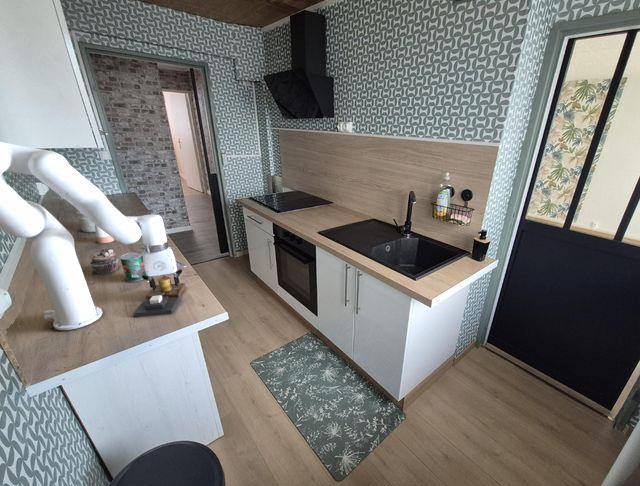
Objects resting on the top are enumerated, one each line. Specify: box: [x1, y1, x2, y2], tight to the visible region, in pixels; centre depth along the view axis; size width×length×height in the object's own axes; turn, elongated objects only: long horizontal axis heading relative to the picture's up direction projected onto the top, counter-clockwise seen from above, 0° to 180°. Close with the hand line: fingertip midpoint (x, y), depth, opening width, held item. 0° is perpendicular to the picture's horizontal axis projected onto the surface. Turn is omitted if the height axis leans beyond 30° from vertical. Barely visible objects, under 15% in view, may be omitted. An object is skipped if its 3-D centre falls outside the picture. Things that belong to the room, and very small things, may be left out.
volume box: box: [145, 282, 187, 300], centre depth 120 cm, size 11×9×3 cm
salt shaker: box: [94, 224, 115, 244], centre depth 163 cm, size 7×7×19 cm
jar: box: [75, 209, 96, 233], centre depth 179 cm, size 13×13×18 cm
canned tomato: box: [119, 251, 146, 283], centre depth 129 cm, size 8×8×11 cm
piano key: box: [149, 295, 162, 304], centre depth 110 cm, size 3×3×2 cm
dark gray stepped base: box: [133, 296, 181, 318], centre depth 110 cm, size 12×9×4 cm
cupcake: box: [90, 248, 119, 275], centre depth 134 cm, size 10×10×10 cm
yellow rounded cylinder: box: [157, 275, 172, 292], centre depth 118 cm, size 4×4×5 cm
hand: (165, 286), depth 119 cm, fingers open, 7 cm apart
